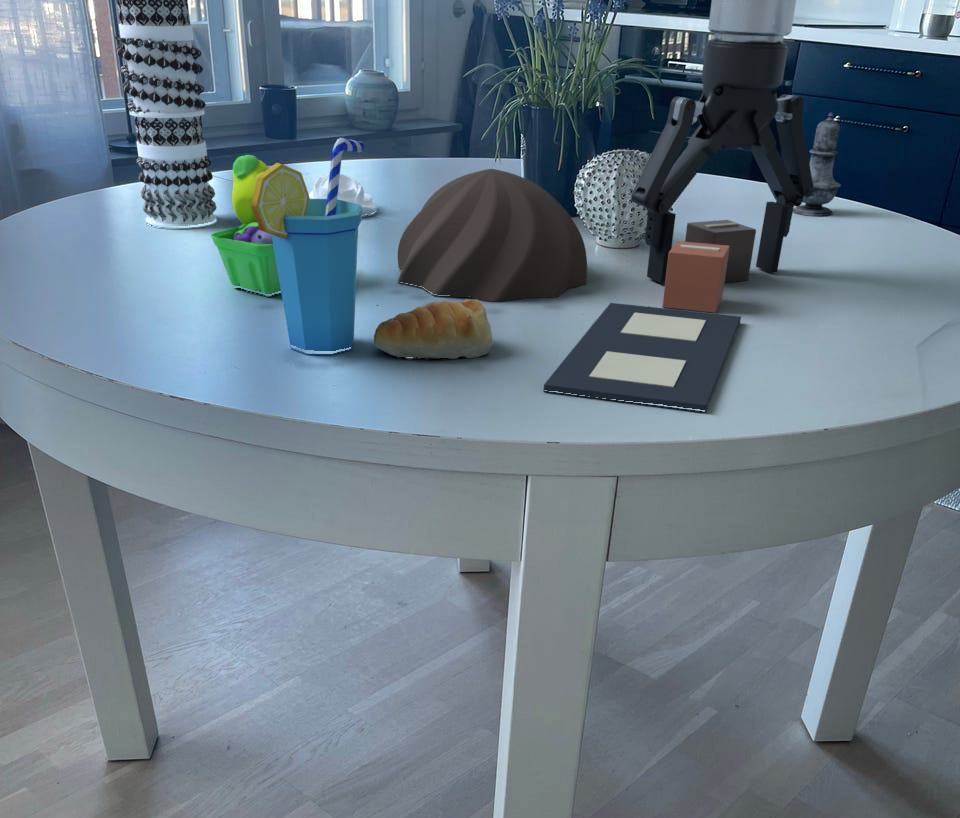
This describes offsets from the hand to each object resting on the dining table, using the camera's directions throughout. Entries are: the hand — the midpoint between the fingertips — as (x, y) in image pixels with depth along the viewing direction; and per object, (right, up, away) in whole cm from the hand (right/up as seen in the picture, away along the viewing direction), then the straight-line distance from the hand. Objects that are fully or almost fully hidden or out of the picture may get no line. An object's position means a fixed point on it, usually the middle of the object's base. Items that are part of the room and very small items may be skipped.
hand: (712, 275), depth 106 cm
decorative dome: (-23, -1, -1) cm, 23 cm away
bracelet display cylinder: (-61, +13, +17) cm, 64 cm away
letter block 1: (0, 0, 0) cm, 0 cm away
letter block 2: (-4, -6, -9) cm, 11 cm away
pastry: (-28, -14, -22) cm, 38 cm away
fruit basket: (-44, -3, -6) cm, 44 cm away
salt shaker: (+20, +19, +30) cm, 41 cm away
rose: (-42, +17, +24) cm, 51 cm away
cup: (-37, -13, -21) cm, 45 cm away
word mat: (-10, -15, -22) cm, 28 cm away
